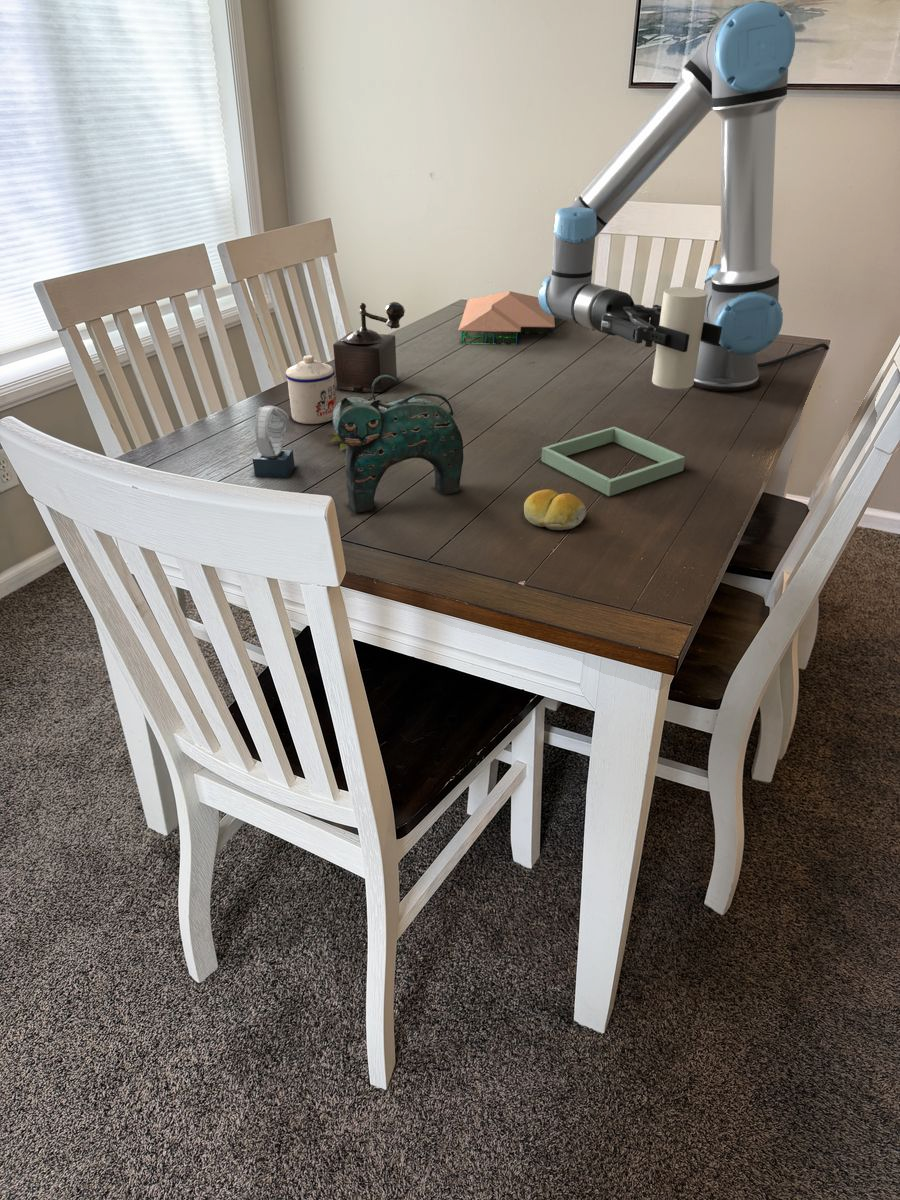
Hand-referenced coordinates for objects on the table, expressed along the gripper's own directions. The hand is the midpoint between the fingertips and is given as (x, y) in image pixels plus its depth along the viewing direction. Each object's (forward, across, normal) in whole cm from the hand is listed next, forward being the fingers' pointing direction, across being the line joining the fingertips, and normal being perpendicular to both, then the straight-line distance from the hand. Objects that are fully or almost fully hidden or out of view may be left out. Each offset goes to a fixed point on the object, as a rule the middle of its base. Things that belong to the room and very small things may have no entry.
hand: (702, 339), depth 134 cm
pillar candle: (-5, 0, -8) cm, 10 cm away
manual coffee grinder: (-61, +27, -19) cm, 69 cm away
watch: (-33, +63, -20) cm, 74 cm away
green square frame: (-2, +16, -19) cm, 25 cm away
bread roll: (+7, +36, -19) cm, 41 cm away
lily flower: (-36, +45, -19) cm, 61 cm away
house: (-81, -23, -19) cm, 86 cm away
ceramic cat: (-12, +51, -19) cm, 56 cm away
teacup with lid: (-53, +45, -20) cm, 72 cm away
